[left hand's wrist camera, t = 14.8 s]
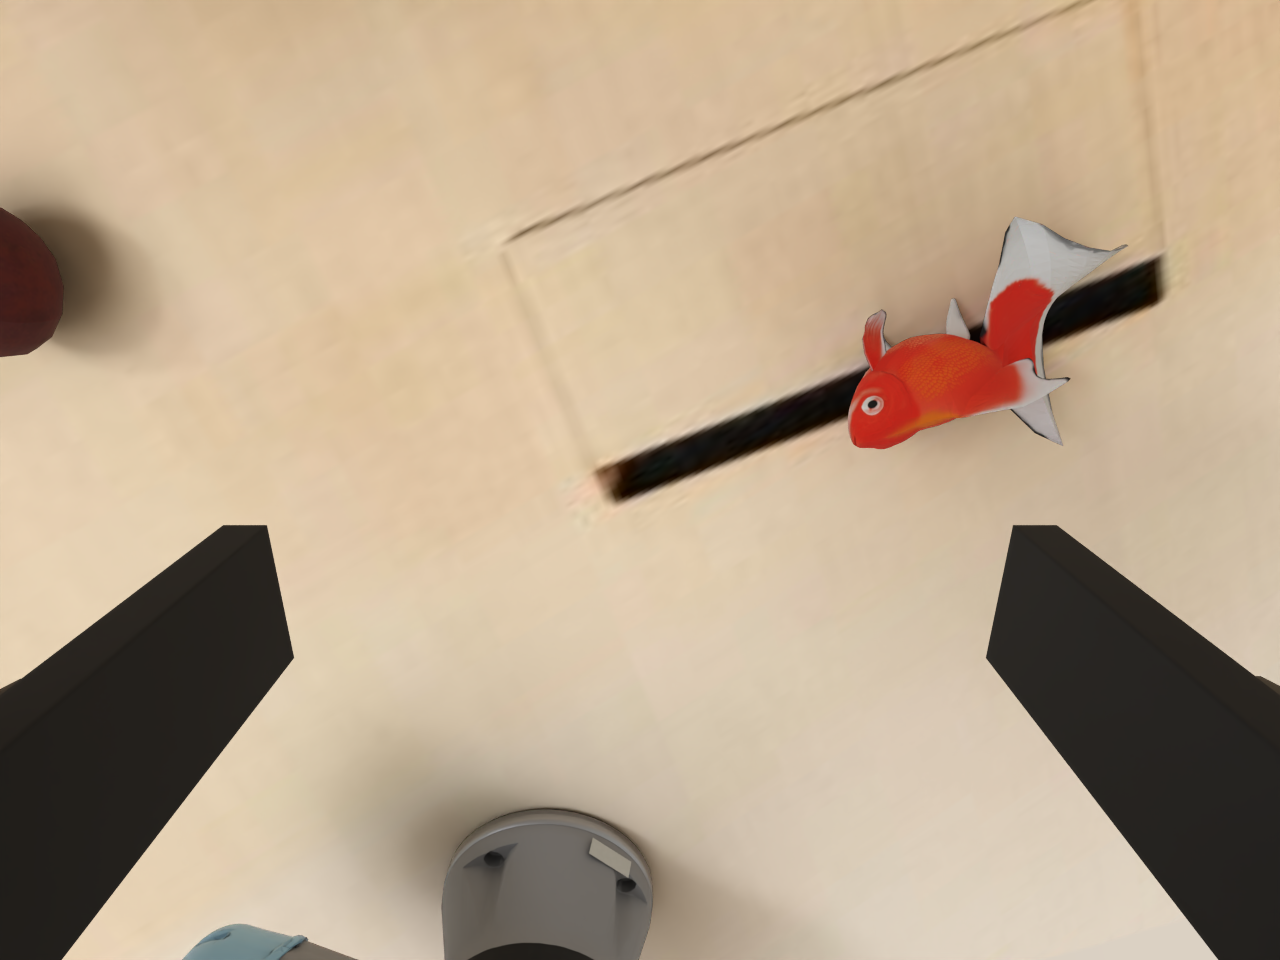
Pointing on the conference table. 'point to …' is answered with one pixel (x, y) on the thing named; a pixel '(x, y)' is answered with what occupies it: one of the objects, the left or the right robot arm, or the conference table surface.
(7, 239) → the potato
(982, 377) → the fish
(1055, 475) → the conference table surface
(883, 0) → the conference table surface
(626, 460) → the conference table surface
